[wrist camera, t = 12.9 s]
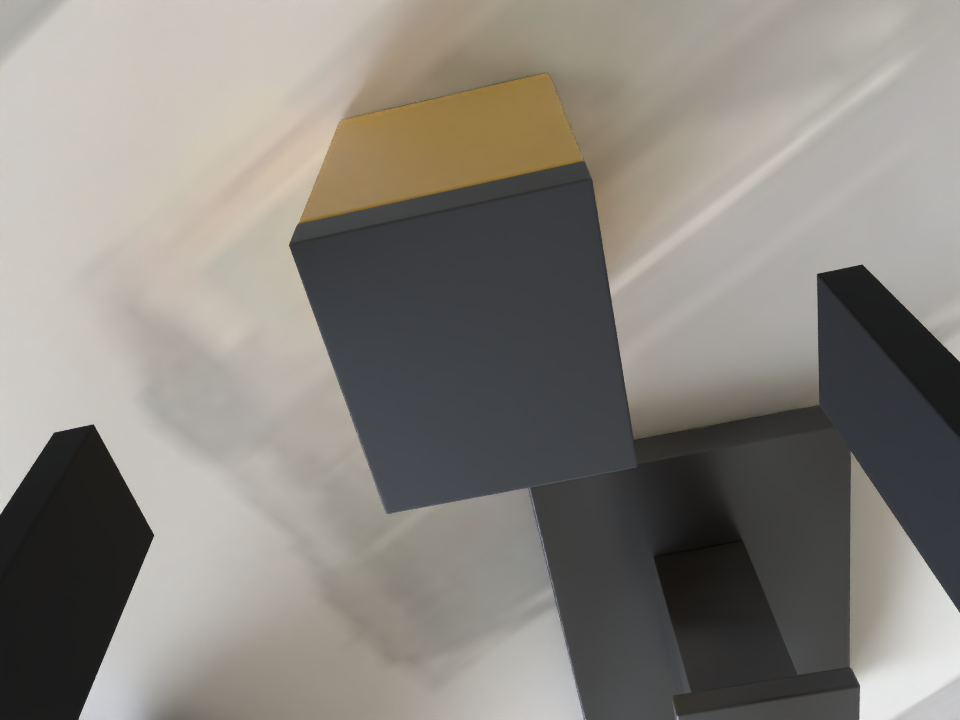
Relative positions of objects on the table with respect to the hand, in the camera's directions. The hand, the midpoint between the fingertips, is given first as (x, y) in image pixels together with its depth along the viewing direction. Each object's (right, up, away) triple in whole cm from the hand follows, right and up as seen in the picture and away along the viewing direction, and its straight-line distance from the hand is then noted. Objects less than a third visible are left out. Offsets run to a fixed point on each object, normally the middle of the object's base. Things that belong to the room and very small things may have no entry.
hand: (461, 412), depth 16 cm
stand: (+8, -7, +16) cm, 19 cm away
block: (0, +5, +8) cm, 9 cm away
